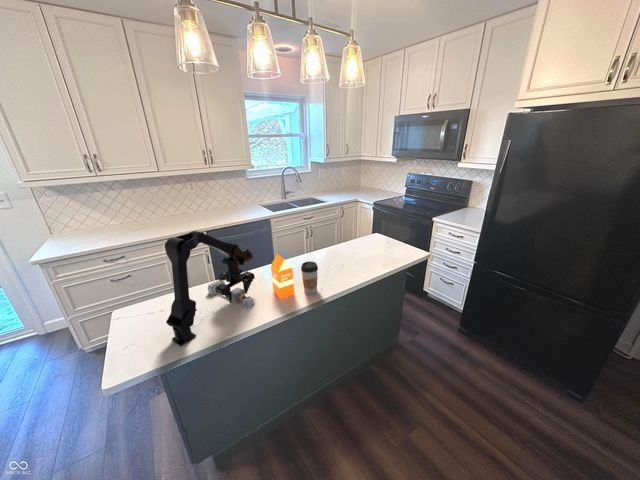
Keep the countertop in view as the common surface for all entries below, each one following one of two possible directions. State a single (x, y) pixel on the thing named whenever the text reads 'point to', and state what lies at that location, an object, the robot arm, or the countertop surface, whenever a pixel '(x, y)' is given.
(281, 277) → the orange juice
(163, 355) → the countertop surface
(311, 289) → the coffee cup
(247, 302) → the cord rig
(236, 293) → the sleeve
